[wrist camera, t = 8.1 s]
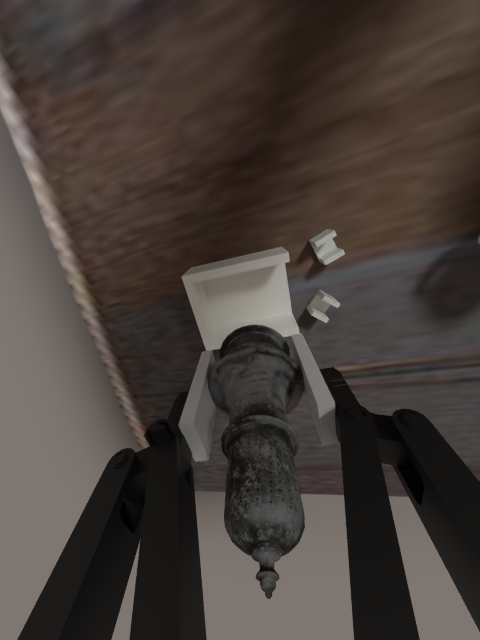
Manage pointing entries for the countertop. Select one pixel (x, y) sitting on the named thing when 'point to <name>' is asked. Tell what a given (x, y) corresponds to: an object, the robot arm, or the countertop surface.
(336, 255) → the clip
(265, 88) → the countertop surface
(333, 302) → the clip
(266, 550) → the grey tapered rounded piece
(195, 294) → the end holder
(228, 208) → the countertop surface
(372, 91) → the countertop surface
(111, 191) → the countertop surface
